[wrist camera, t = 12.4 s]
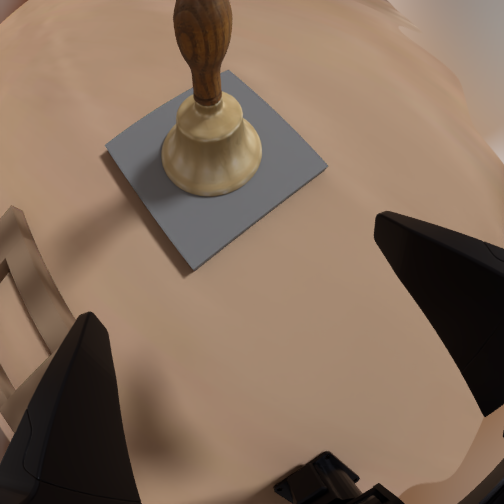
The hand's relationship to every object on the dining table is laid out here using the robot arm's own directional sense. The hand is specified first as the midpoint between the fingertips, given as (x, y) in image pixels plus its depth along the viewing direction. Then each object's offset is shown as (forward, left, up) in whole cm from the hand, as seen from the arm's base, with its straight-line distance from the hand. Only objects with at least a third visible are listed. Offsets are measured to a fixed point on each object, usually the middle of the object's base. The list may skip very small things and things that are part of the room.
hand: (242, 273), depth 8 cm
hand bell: (+10, -5, -13) cm, 17 cm away
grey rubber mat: (+10, -6, -14) cm, 18 cm away
